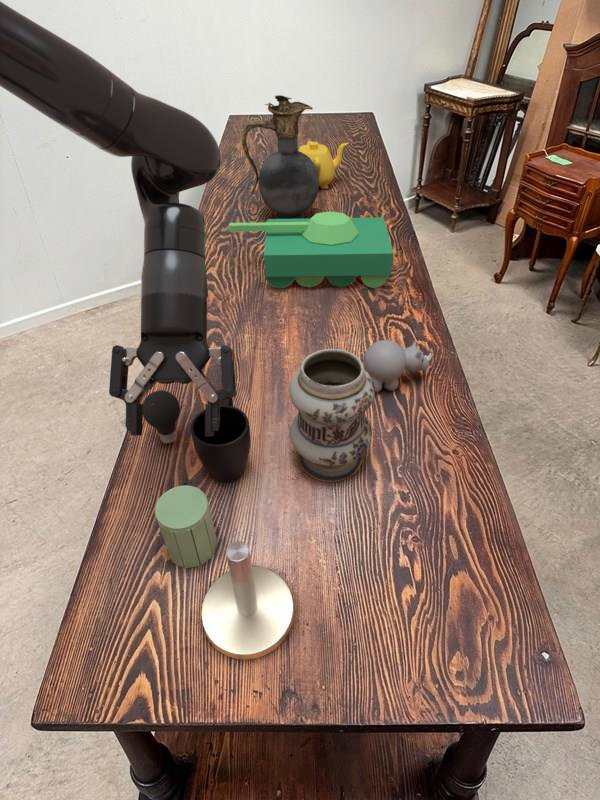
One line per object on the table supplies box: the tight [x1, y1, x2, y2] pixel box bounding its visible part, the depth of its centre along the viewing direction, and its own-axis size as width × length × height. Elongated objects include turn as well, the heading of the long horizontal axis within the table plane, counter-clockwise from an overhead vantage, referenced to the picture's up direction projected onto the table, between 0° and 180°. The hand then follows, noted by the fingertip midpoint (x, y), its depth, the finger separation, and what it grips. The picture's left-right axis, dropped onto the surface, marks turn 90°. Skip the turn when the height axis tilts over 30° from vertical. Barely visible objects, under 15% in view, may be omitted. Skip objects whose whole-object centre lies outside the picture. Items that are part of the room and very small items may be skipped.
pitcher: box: [241, 94, 320, 219], centre depth 135 cm, size 11×19×30 cm, turn 95°
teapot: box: [298, 140, 349, 190], centre depth 158 cm, size 14×14×12 cm
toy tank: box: [228, 210, 394, 289], centre depth 121 cm, size 18×12×35 cm
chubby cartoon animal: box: [363, 339, 433, 393], centre depth 93 cm, size 7×12×8 cm, turn 96°
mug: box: [189, 397, 252, 484], centre depth 80 cm, size 8×12×10 cm
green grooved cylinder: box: [154, 484, 218, 569], centre depth 69 cm, size 6×7×9 cm
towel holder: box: [200, 540, 295, 661], centre depth 60 cm, size 11×11×14 cm
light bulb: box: [142, 389, 181, 444], centre depth 83 cm, size 6×6×10 cm
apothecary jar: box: [288, 348, 376, 483], centre depth 77 cm, size 12×12×18 cm
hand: (173, 435), depth 62 cm, fingers open, 8 cm apart
